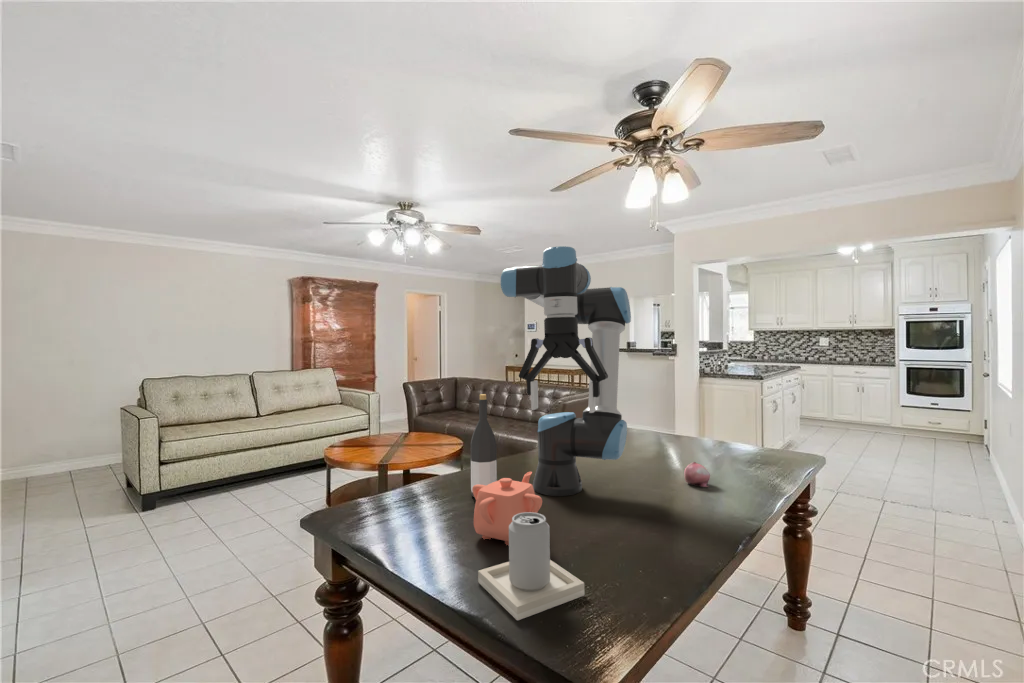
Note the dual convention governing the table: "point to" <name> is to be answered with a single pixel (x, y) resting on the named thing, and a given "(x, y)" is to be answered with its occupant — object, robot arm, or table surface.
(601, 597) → the table surface
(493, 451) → the wine bottle
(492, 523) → the pink kettle
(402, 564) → the table surface
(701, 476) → the pomegranate
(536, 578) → the can
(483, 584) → the coaster
